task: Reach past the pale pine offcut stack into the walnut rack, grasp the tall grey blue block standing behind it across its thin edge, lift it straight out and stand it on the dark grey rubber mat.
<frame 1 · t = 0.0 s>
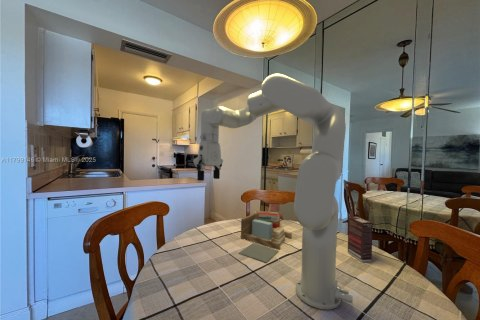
hand: (208, 179, 84), 31 cm above the table, fingers open, 9 cm apart
offcut stack: (278, 241, 98), on the table
grey blue block: (261, 237, 103), resting in rack
mat: (259, 252, 85), on the table
rack: (265, 237, 101), on the table
medicine box: (266, 226, 120), on the table
supplement box: (359, 257, 84), on the table
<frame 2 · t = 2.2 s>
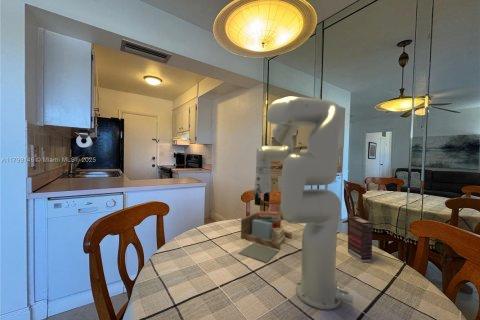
hand: (262, 203, 103), 17 cm above the table, fingers open, 9 cm apart
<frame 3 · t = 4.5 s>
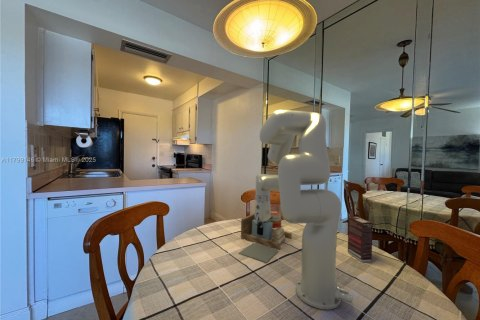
hand: (261, 232, 103), 2 cm above the table, fingers closed on grey blue block, 3 cm apart
grey blue block: (261, 236, 103), resting in rack, touching gripper
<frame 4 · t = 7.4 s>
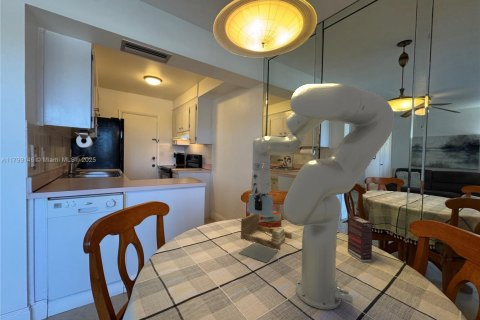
hand: (260, 208, 86), 19 cm above the table, fingers closed on grey blue block, 3 cm apart
grey blue block: (260, 213, 86), point 17 cm above the table, touching gripper
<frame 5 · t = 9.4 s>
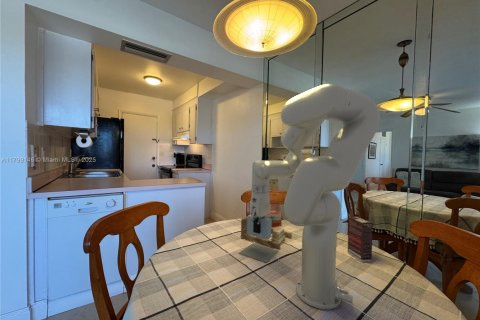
hand: (259, 230, 86), 9 cm above the table, fingers closed on grey blue block, 3 cm apart
grey blue block: (258, 235, 86), point 7 cm above the table, touching gripper
when the fingers open (3 cm above the table, at t = 10.8 s): grey blue block drops 1 cm, resting on mat.
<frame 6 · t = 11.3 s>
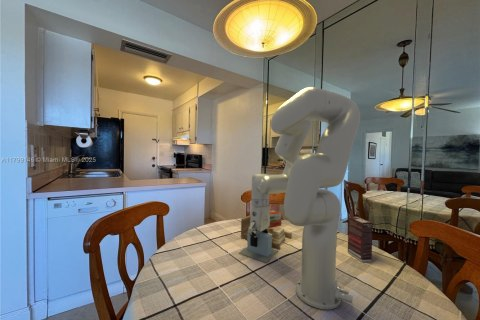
hand: (259, 242, 85), 4 cm above the table, fingers open, 8 cm apart
grey blue block: (259, 251, 85), resting on mat
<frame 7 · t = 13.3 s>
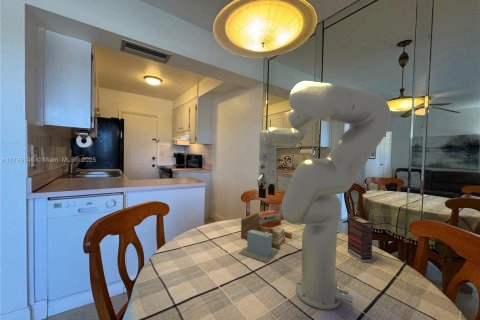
hand: (266, 196, 89), 24 cm above the table, fingers open, 9 cm apart
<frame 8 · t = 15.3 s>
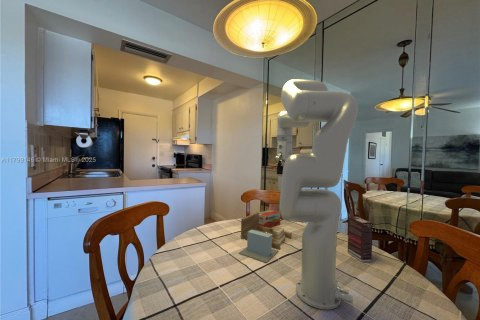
hand: (283, 173, 99), 33 cm above the table, fingers open, 9 cm apart
at the end: grey blue block inside the target area on the mat (0.1 cm from its centre), point 0.4 cm above the mat's base; grey blue block tilted 0°; the gripper is holding nothing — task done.
